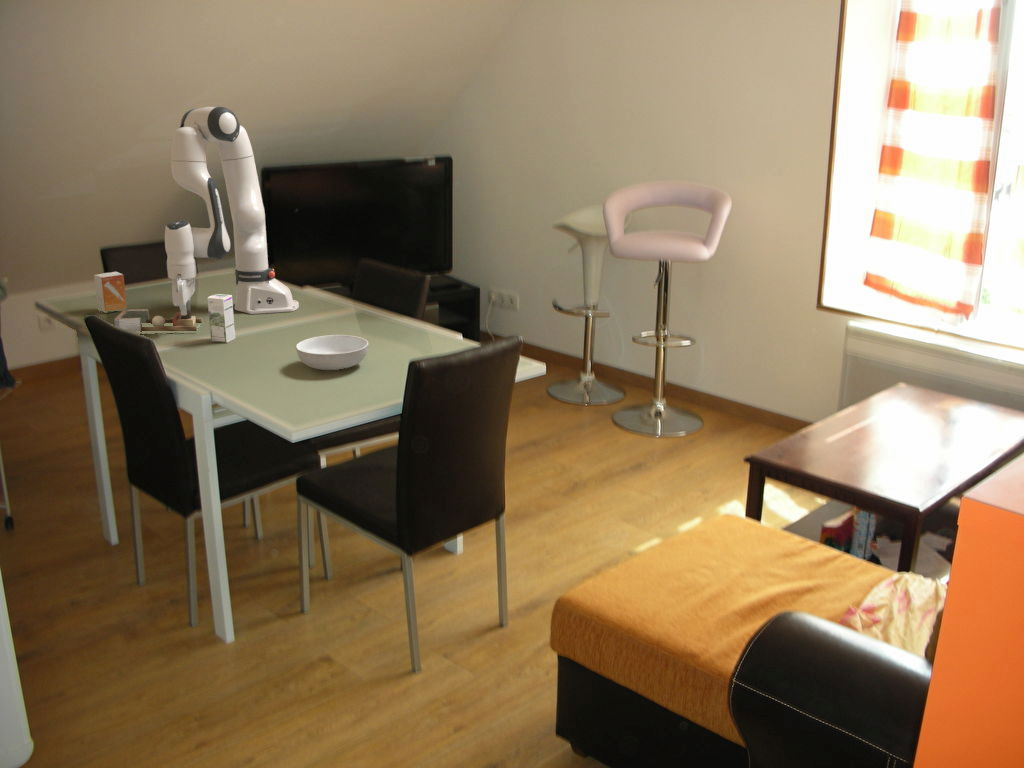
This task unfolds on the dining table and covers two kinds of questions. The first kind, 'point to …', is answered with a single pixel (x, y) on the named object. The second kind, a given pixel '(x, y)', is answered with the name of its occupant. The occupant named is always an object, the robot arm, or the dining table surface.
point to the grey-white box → (132, 319)
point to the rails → (171, 328)
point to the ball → (158, 321)
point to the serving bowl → (332, 351)
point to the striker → (184, 318)
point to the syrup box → (221, 318)
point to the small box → (110, 291)
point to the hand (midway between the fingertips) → (185, 313)
